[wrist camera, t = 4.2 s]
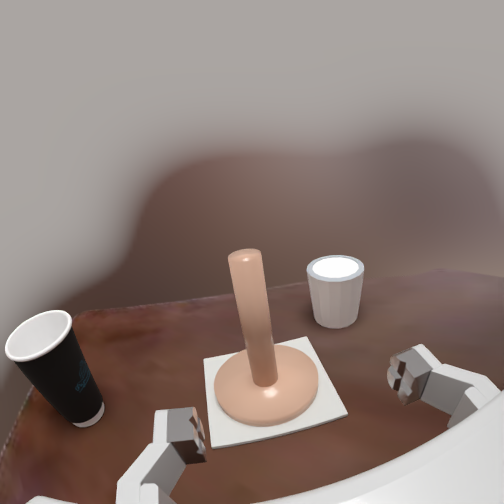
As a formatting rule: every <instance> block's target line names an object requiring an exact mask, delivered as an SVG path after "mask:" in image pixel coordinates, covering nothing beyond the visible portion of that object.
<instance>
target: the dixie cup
mask: <svg viewBox="0 0 504 504" xmlns="http://www.w3.org/2000/svg"><path fill="white" fill-rule="evenodd" d="M71 325H72V319H71V316H70V315H69V314H68V313H67V312H64V311H61V310H53V311H48V312H44V313H41V314H38V315H36V316H34V317H32V318H30V319H28V320H27V321H25V322H24V323H22V324H21V325H20V326H19V327H18V328H16V329H15V330H14V331H13V333H12V334H11V335H10V336H9V338H8V340H7V342H6V346H5V352H6V355H7V357H9V358H10V359H11V360H13V361H14V362H15V363H16V364H17V366H18V367H19V368H20V369H21V371H22V372H23V373H24V374H25V376H26V377H27V378H28V379H29V380H30V381H31V383H32V384H33V385H34V386H35V387H36V389H37V390H38V391H39V392H40V393H41V394H42V395H43V396H44V397H45V398H46V400H47V401H48V402H49V403H50V404H51V405H52V406H53V407H54V408H55V409H56V410H57V411H58V412H59V413H60V414H61V415H62V416H63V417H64V418H65V419H66V420H67V421H69V422H72V423H73V424H74V425H76V426H78V427H88V426H91V425H93V424H95V423H96V422H97V421H98V420H99V419H100V418H101V417H102V415H103V413H104V403H103V399H102V395H101V393H100V391H99V389H98V387H97V385H96V383H95V381H94V379H93V377H92V374H91V372H90V370H89V368H88V365H87V363H86V361H85V359H84V356H83V354H82V351H81V349H80V346H79V344H78V341H77V339H76V336H75V334H74V331H73V328H72V326H71Z"/></svg>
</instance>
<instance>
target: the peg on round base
mask: <svg viewBox="0 0 504 504" xmlns="http://www.w3.org/2000/svg"><path fill="white" fill-rule="evenodd" d="M228 261H229V266H230V272H231V277H232V281H233V287H234V292H235V297H236V302H237V307H238V312H239V317H240V322H241V326H242V331H243V336H244V341H245V346H246V349H245V350H243V351H241V352H239V353H237V354H235V355H233V356H232V357H230V358H229V359H228V360H227V361H226V362H225V363H224V364H223V365H222V366H221V367H220V369H219V370H218V372H217V374H216V376H215V380H214V392H215V395H216V398H217V400H218V403H219V405H220V407H221V409H222V410H223V411H224V412H225V413H226V414H227V415H228V416H229V417H230V418H232V419H234V420H235V421H237V422H240V423H242V424H246V425H249V426H256V427H268V426H275V425H280V424H283V423H286V422H289V421H291V420H293V419H295V418H297V417H298V416H300V415H301V414H302V413H304V412H305V411H306V410H307V409H308V408H309V407H310V406H311V404H312V403H313V401H314V399H315V398H316V395H317V392H318V370H317V368H316V365H315V363H314V362H313V361H312V359H311V358H310V357H309V356H308V355H306V354H305V353H303V352H302V351H300V350H298V349H295V348H292V347H289V346H284V345H274V343H273V336H272V328H271V321H270V314H269V307H268V299H267V292H266V286H265V278H264V272H263V264H262V257H261V252H260V251H259V250H256V249H242V250H238V251H235V252H233V253H231V254H230V255H229V256H228Z"/></svg>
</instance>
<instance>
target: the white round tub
mask: <svg viewBox="0 0 504 504" xmlns="http://www.w3.org/2000/svg"><path fill="white" fill-rule="evenodd" d="M307 275H308V281H309V287H310V293H311V300H312V306H313V312H314V318H315V320H316V322H317V323H318V324H320V325H321V326H323V327H327V328H343V327H347V326H349V325H351V324H352V323H354V322H355V320H356V319H357V315H358V309H359V303H360V296H361V290H362V282H363V275H364V265H363V263H362V262H361V261H359V260H358V259H355V258H353V257H350V256H343V255H331V256H326V257H321V258H318V259H316V260H314V261H312V262H311V263H310V264H309V265H308V267H307Z"/></svg>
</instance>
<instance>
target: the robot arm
mask: <svg viewBox="0 0 504 504" xmlns="http://www.w3.org/2000/svg"><path fill="white" fill-rule="evenodd" d="M390 363H391V367H390V368H389V369H388V373H387V378H388V382H389V384H390V386H391V388H392V389H394V390H396V391H398V395H397V396H398V397H399V399H400V400H401V401H402V403H403V404H404V406H406V405H408V404H410V403H412V402H415V401H417V400H419V399H420V400H422V401H424V402H426V403H428V404H430V405H432V406H434V407H436V408H438V409H440V410H442V411H444V412H446V413H448V414H450V415H452V417H451V419H450V420H449V422H448V425H447V427H448V428H449V430H447V431H445V432H444V433H442V434H440V435H439V436H437V437H435V438H434V439H432V440H430V441H428V442H426V443H425V444H423V445H421V446H419V447H417V448H415V449H413V450H412V451H410V452H408V453H406V454H404V455H402V456H400V457H397V458H395V459H393V460H391V461H389V462H387V463H385V464H382V465H380V466H378V467H375V468H373V469H371V470H368V471H366V472H363V473H361V474H358V475H356V476H353V477H350V478H348V479H345V480H342V481H339V482H336V483H333V484H330V485H327V486H324V487H321V488H317V489H314V490H310V491H307V492H303V493H299V494H296V495H292V496H287V497H283V498H279V499H274V500H269V501H264V502H259V503H253V504H504V390H503V391H502V392H501V391H500V390H499V389H498V388H497V387H496V386H495V385H494V384H493V383H492V382H491V381H490V380H489V379H488V378H487V377H486V376H484V375H480V374H477V373H474V372H470V371H467V370H464V369H460V368H457V367H454V366H451V365H447V364H443V365H442V364H441V363H440V362H439V361H438V360H437V359H436V358H435V357H434V356H433V355H432V353H431V352H430V351H429V350H428V349H427V348H426V347H425V346H424V345H422V344H419V345H417V346H415V347H412V348H409V349H407V350H405V351H402V352H400V353H398V354H395V355H393V356H392V357H391V359H390ZM204 440H205V437H204V430H203V426H202V423H201V420H200V419H199V418H198V417H197V411H196V409H195V407H189V408H178V409H167V410H156V413H155V419H154V433H153V443H152V444H149V445H148V446H147V447H146V449H145V450H144V451H143V452H142V453H141V455H140V456H139V457H138V458H137V459H136V461H135V462H134V463H133V464H132V465H131V467H130V468H129V469H128V470H127V471H126V473H125V474H124V475H123V476H122V477H121V479H120V480H119V481H118V484H117V495H116V504H176V503H175V502H174V501H173V500H172V499H171V498H170V497H169V495H170V493H171V491H172V489H173V488H174V486H175V484H176V483H177V481H178V479H179V477H180V476H181V474H182V472H183V470H184V469H185V467H186V465H187V464H195V463H203V462H207V459H206V448H205V447H204V445H203V441H204ZM26 504H76V503H71V502H66V501H61V500H57V499H52V498H48V497H44V496H36V497H34V498H33V499H31V500H30V501H29V502H27V503H26Z"/></svg>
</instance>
